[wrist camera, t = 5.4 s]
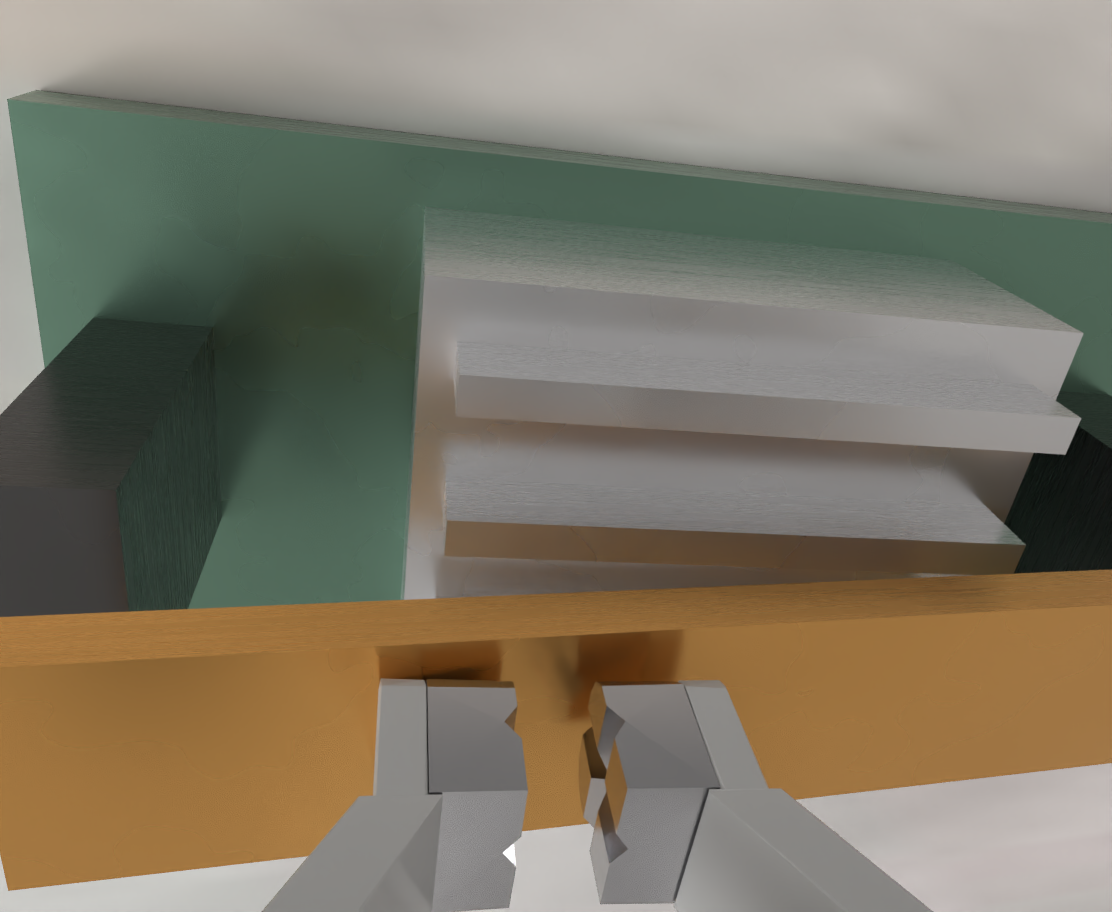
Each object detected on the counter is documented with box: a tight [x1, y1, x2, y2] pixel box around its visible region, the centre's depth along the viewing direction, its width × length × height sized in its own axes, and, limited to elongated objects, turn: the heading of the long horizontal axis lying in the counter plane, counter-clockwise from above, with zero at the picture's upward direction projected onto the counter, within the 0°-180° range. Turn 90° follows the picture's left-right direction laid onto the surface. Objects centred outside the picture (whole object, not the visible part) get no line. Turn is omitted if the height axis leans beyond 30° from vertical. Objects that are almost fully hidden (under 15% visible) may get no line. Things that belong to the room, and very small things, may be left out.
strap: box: [0, 569, 1112, 891], centre depth 12 cm, size 18×4×1 cm, turn 82°
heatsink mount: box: [0, 90, 1112, 617], centre depth 17 cm, size 23×11×7 cm, turn 83°
